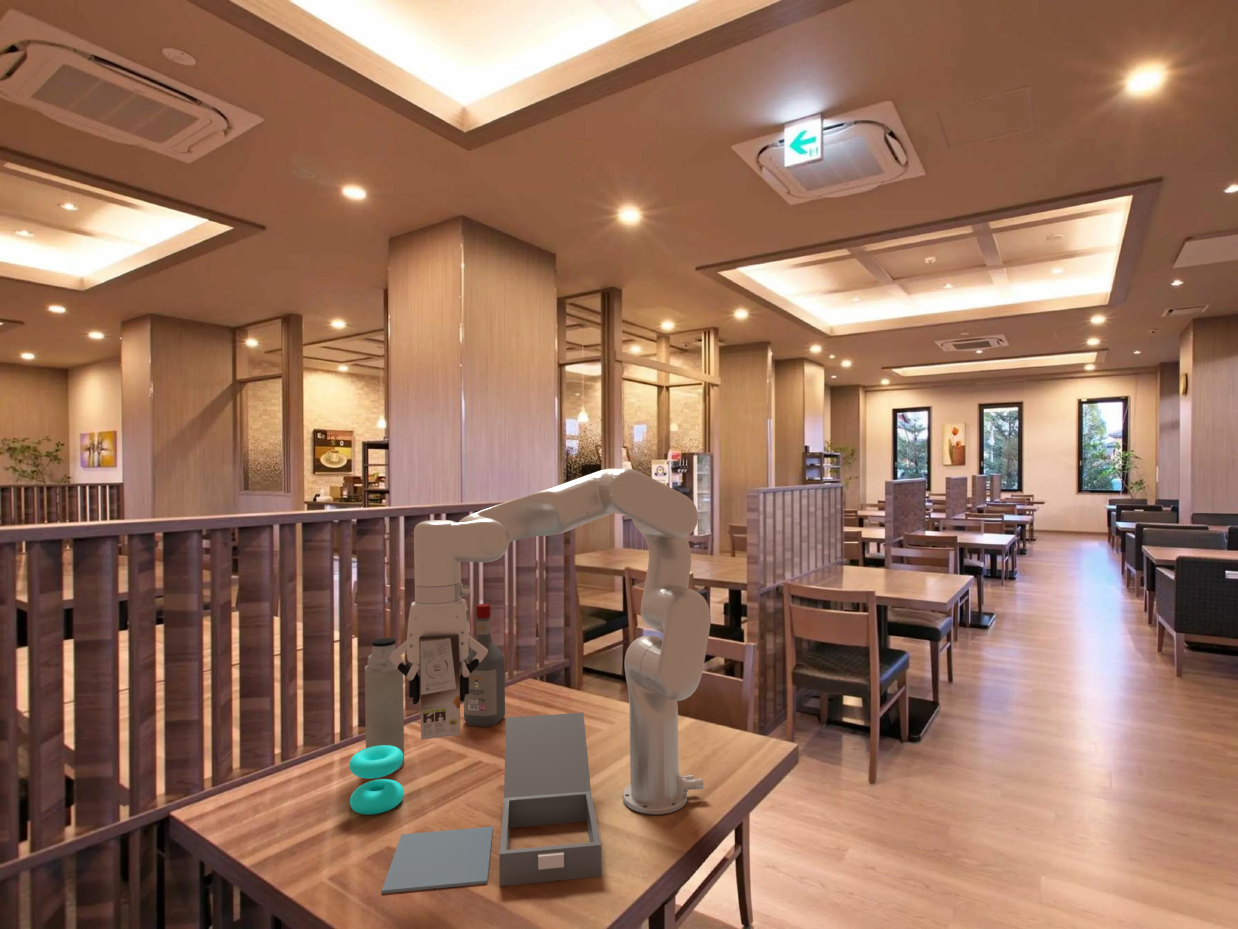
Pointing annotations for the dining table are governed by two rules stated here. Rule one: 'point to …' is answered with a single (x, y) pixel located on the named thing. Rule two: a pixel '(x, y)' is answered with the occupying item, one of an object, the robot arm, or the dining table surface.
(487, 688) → the liquor
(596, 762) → the dining table surface
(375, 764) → the donuts
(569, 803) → the case
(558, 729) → the case lid
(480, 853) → the slate mat
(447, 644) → the coffee box
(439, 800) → the dining table surface
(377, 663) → the thermos bottle
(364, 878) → the dining table surface
